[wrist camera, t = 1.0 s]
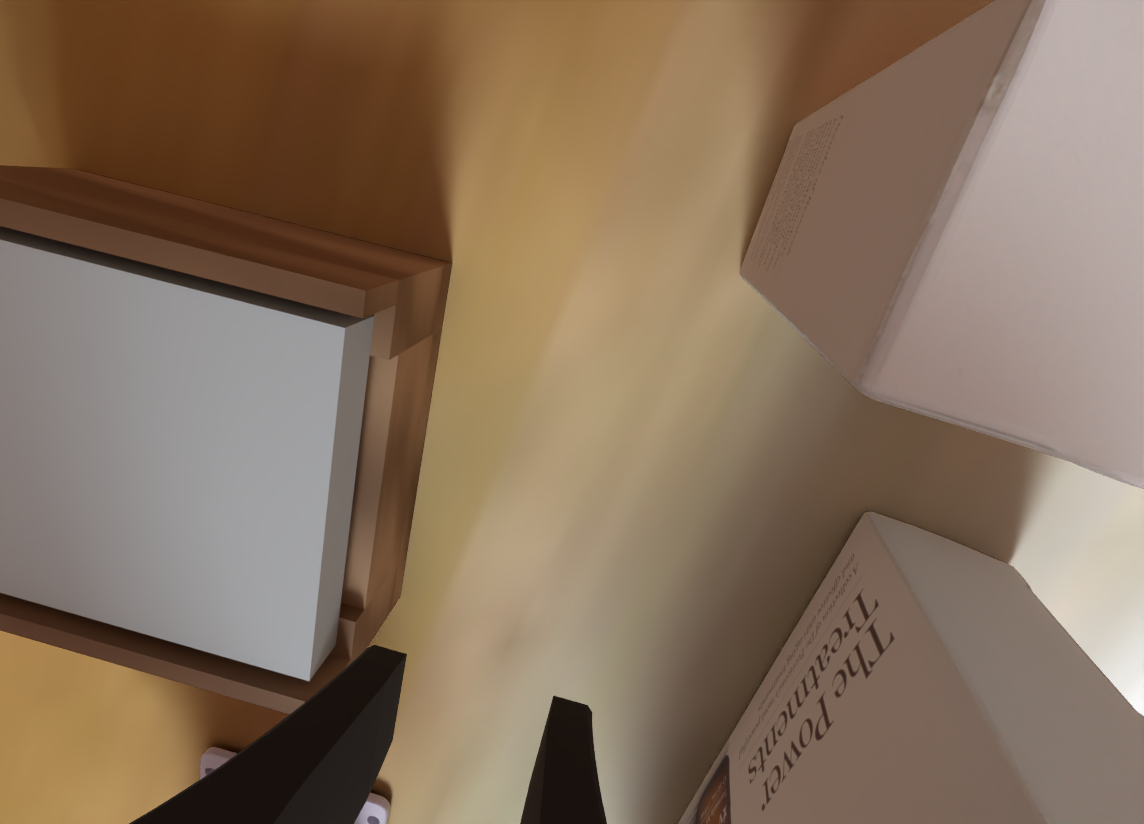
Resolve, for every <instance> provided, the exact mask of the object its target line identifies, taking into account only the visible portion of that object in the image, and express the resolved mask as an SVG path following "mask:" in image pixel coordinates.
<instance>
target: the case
mask: <svg viewBox="0 0 1144 824" xmlns="http://www.w3.org/2000/svg"><path fill="white" fill-rule="evenodd" d="M0 226H2V227H6V228H10V229H14V230H18V231H22V232H26V233H30V234H34V235H38V236H42V237H46V238H49V239H53V240H57V241H61V242H65V243H69V244H73V245H77V246H81V247H85V248H89V249H93V250H96V251H100V252H104V253H108V254H112V255H116V256H120V257H124V258H128V259H132V260H136V261H140V262H143V263H147V264H151V265H155V266H159V267H163V268H167V269H171V270H175V271H179V272H183V273H187V274H191V275H194V276H198V277H202V278H206V279H210V280H214V281H218V282H222V283H226V284H230V285H234V286H238V287H241V288H245V289H249V290H253V291H257V292H261V293H265V294H269V295H273V296H277V297H281V298H285V299H288V300H292V301H296V302H300V303H304V304H308V305H312V306H316V307H320V308H324V309H328V310H332V311H336V312H339V313H343V314H347V315H351V316H355V317H359V318H365V317H368V316H370V315H372V316H374V323H373V332H372V340H371V349H370V357H369V366H368V374H367V383H366V391H365V400H364V408H363V417H362V426H361V434H360V443H359V451H358V460H357V468H356V477H355V485H354V494H353V503H352V511H351V520H350V528H349V537H348V545H347V554H346V562H345V571H344V579H343V588H342V597H341V605H340V614H339V622H338V631H337V639H336V645H335V647H334V648H333V650H332V651H331V652H330V654H329V655H328V656H327V658H326V659H325V661H324V662H323V663H322V665H321V666H320V667H319V669H318V670H317V672H316V673H315V674H314V676H313V677H312V678H311V680H310V681H306V680H303V679H299V678H296V677H292V676H289V675H285V674H282V673H278V672H275V671H271V670H268V669H264V668H261V667H257V666H254V665H250V664H247V663H243V662H240V661H236V660H233V659H229V658H226V657H223V656H219V655H216V654H212V653H209V652H205V651H202V650H198V649H195V648H191V647H188V646H184V645H181V644H177V643H174V642H170V641H167V640H163V639H160V638H156V637H153V636H149V635H146V634H142V633H139V632H135V631H132V630H129V629H125V628H122V627H118V626H115V625H111V624H108V623H104V622H101V621H97V620H94V619H90V618H87V617H83V616H80V615H76V614H73V613H69V612H66V611H62V610H59V609H55V608H52V607H48V606H45V605H41V604H38V603H34V602H31V601H28V600H24V599H21V598H17V597H14V596H10V595H7V594H3V593H0V630H1V631H4V632H8V633H11V634H15V635H18V636H22V637H25V638H28V639H32V640H35V641H39V642H42V643H46V644H49V645H53V646H56V647H59V648H63V649H66V650H70V651H73V652H77V653H80V654H84V655H87V656H90V657H94V658H97V659H101V660H104V661H108V662H111V663H115V664H118V665H121V666H125V667H128V668H132V669H135V670H139V671H142V672H145V673H149V674H152V675H156V676H159V677H163V678H166V679H170V680H173V681H176V682H180V683H183V684H187V685H190V686H194V687H197V688H201V689H204V690H207V691H211V692H214V693H218V694H221V695H225V696H228V697H232V698H235V699H238V700H242V701H245V702H249V703H252V704H256V705H259V706H263V707H266V708H269V709H273V710H276V711H280V712H283V713H287V714H291V713H292V712H294V711H295V710H296V709H297V708H299V707H300V706H301V705H302V704H304V703H305V702H306V701H307V700H309V699H310V698H311V697H312V696H314V695H315V694H316V693H317V692H318V691H319V690H321V689H322V688H323V687H324V686H325V685H327V684H328V683H329V682H330V681H331V680H333V679H334V678H335V677H336V676H337V675H338V674H339V673H341V672H342V671H343V670H344V669H345V668H346V667H347V666H348V665H350V664H351V663H352V662H353V661H354V660H355V659H356V658H357V657H358V656H360V655H361V654H362V653H363V652H364V651H365V650H366V649H367V647H368V645H369V644H370V642H371V641H372V639H373V638H374V636H375V635H376V633H377V632H378V630H379V629H380V627H381V626H382V624H383V622H384V621H385V619H386V618H387V616H388V615H389V613H390V612H391V610H392V609H393V607H394V606H395V604H396V603H397V601H398V599H399V598H400V595H401V588H402V582H403V576H404V569H405V563H406V556H407V550H408V543H409V537H410V530H411V524H412V518H413V511H414V505H415V498H416V492H417V485H418V479H419V473H420V466H421V460H422V453H423V447H424V440H425V434H426V427H427V421H428V415H429V408H430V402H431V395H432V389H433V382H434V376H435V370H436V363H437V357H438V350H439V344H440V337H441V331H442V324H443V318H444V312H445V305H446V299H447V292H448V286H449V279H450V273H451V267H452V263H449V262H445V261H441V260H437V259H433V258H429V257H425V256H421V255H417V254H413V253H409V252H405V251H401V250H397V249H393V248H389V247H385V246H381V245H377V244H373V243H369V242H365V241H361V240H357V239H353V238H349V237H345V236H341V235H337V234H333V233H329V232H325V231H321V230H317V229H313V228H309V227H304V226H300V225H296V224H292V223H288V222H284V221H280V220H276V219H272V218H268V217H264V216H260V215H256V214H252V213H248V212H244V211H240V210H236V209H232V208H228V207H224V206H220V205H216V204H212V203H208V202H204V201H200V200H196V199H192V198H188V197H184V196H180V195H176V194H172V193H168V192H164V191H160V190H156V189H152V188H148V187H144V186H140V185H136V184H132V183H127V182H123V181H119V180H115V179H111V178H107V177H103V176H99V175H95V174H91V173H87V172H83V171H79V170H75V169H63V168H41V167H20V166H0Z"/></svg>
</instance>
